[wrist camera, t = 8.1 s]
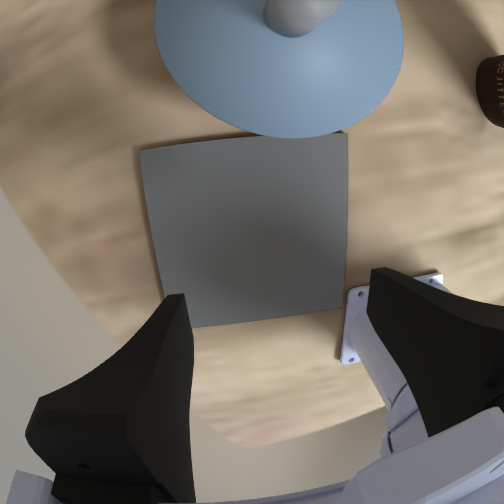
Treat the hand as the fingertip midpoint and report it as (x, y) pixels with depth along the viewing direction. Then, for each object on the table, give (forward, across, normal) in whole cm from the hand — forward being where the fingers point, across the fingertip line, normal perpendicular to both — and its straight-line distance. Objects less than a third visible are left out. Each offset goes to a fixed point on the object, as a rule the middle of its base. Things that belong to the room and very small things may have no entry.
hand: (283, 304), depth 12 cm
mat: (+10, 0, +1) cm, 10 cm away
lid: (+6, -2, -12) cm, 14 cm away
